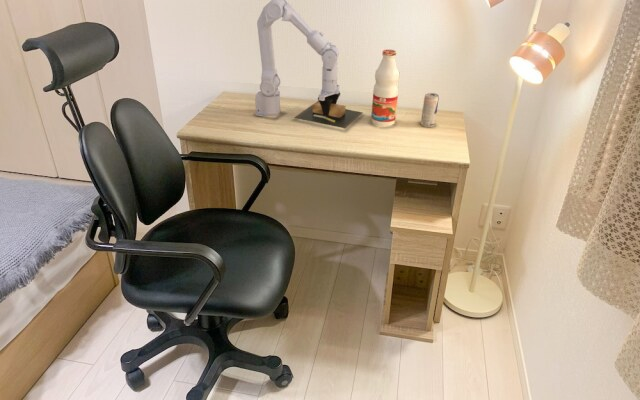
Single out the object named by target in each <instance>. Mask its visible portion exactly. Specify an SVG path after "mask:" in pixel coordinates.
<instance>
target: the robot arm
mask: <svg viewBox="0 0 640 400" xmlns="http://www.w3.org/2000/svg"><path fill="white" fill-rule="evenodd" d="M281 18H282V19H281ZM279 19H281V22H289V23H291V24H292V25H293V26H294V27H296V29H297V30H299V32H300V33H301V34H303V36H305V37H306V43H307V44H308V45H309V46H310V47H311V48H312V49H313V50H314V51H315V52H316V53H317V54H318V55H319V56H320V57H321V61H322V71H321V75H322V77H321V90H320V92H319V94H318V97H317V101H319V102H320V105H321V107H322V111H323V115H329V111H330V105H331V103H333V104H337V102H338V99H339V98H340V96H341V92H340V84H338V58H339V49H338V48H337V45H334V44H333V43H332V42H329V40H328V39H327V38H326V37H325V36H324V32H323V31H319V30H317V29H316V30H315V29H312V27H311V26H310V25H309V24H308V22H306V20H305V19H304V18H303V17H302V16H301V15H300V14H299V12H297V10H296V9H295V8H294V7H293V6H292V4H291V3H289V2H287V0H270V1H269V2H268V3H267V4H265V6H263V7H262V10H261V13H260V15H259V17H258V19H257V20H256V26H257V35H258V45H259V52H260V63H261V76H260V79H261V82H260V84H259V91H257V92H256V94H255V99H254V103H255V113H254V116H258V117H262V118H263V117H267V116H277V115H279V114H280V113H281V91H280V89H279V86H280V85H281V79H280V77H279V74H278V70H277V68H276V62H275V61H276V60H275V54H274V53H275V52H274V43H273V42H274V39H273V31H272V25H273V24H274V23H275V22H276V21H278V20H279Z"/></svg>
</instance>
